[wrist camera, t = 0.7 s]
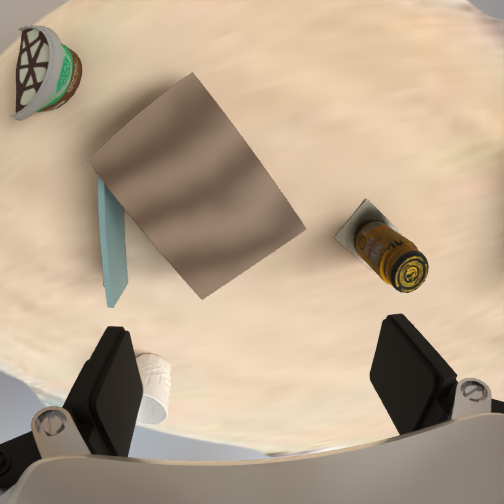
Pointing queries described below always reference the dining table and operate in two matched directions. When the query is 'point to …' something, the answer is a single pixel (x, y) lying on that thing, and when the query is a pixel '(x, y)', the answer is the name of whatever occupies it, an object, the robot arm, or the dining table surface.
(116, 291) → the door
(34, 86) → the food container
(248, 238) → the bread box
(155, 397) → the white cup
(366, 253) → the condiment
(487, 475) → the robot arm
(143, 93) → the dining table surface
